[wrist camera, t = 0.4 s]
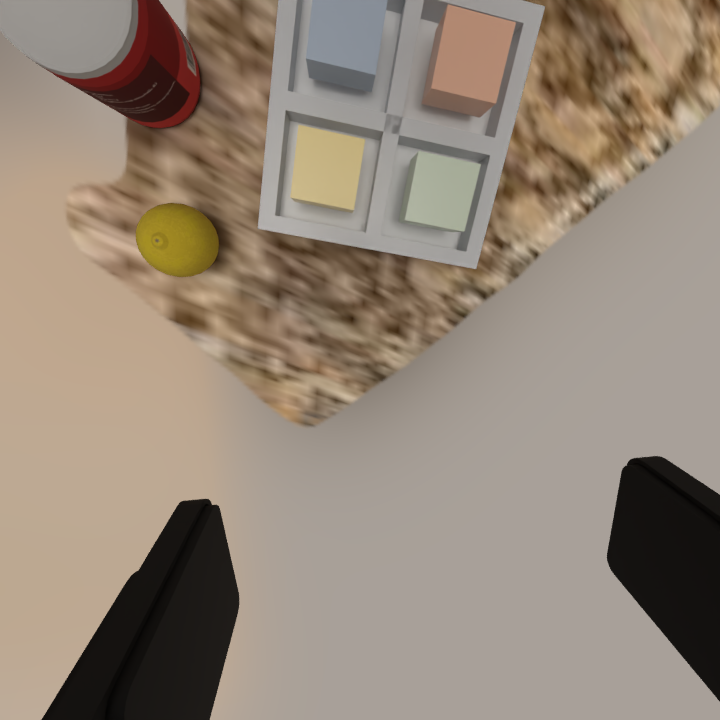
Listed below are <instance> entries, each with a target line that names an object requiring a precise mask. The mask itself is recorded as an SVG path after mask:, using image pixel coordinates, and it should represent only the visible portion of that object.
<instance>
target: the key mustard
mask: <svg viewBox="0 0 720 720" xmlns="http://www.w3.org/2000/svg"><path fill="white" fill-rule="evenodd" d="M364 144H365V139H362V138H357V137H353V136H348V135H343V134H339V133H334V132H330V131H325V130H320V129H316V128H311V127H307V126H302V125H298V133H297V142H296V151H295V159H294V168H293V177H292V186H291V195H290V198H291V199H292V200H293V201H294V202H298V203H304V204H309V205H314V206H319V207H324V208H329V209H334V210H339V211H345V212H350V213H353V211H354V207H355V200H356V194H357V188H358V182H359V175H360V169H361V163H362V157H363V151H364Z"/></svg>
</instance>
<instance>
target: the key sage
mask: <svg viewBox="0 0 720 720" xmlns="http://www.w3.org/2000/svg"><path fill="white" fill-rule="evenodd" d="M480 166H481V164H477V163H472V162H467V161H463V160H458V159H454V158H449V157H444V156H440V155H435V154H431V153H426V152H421V151H418V152H417V153H416V154H415V155H414V157H413V158H412V159H411V160H410V165H409V170H408V175H407V180H406V185H405V191H404V196H403V201H402V206H401V211H400V216H399V221H398V222H401V223H406V224H411V225H416V226H422V227H427V228H432V229H437V230H442V231H447V232H452V233H453V232H464V231H465V227H466V223H467V219H468V215H469V211H470V207H471V203H472V199H473V195H474V190H475V186H476V182H477V178H478V174H479V170H480Z"/></svg>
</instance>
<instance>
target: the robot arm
mask: <svg viewBox="0 0 720 720" xmlns="http://www.w3.org/2000/svg"><path fill="white" fill-rule="evenodd" d="M607 561H608V564H609V567H610V569H611V571H612V572H613V573H614V575H615V576H616V577H617V578H618V580H619V581H620V582H621V583H622V584H623V586H624V587H625V588H626V589H627V590H628V592H629V593H630V594H631V595H632V596H633V598H634V599H635V600H636V601H637V602H638V604H639V605H640V606H641V607H642V608H643V610H644V611H645V612H646V613H647V614H648V616H649V617H650V618H651V619H652V620H653V622H654V623H655V624H656V625H657V626H658V628H659V629H660V630H661V631H662V632H663V634H664V635H665V636H666V637H667V638H668V640H669V641H670V642H671V643H672V645H673V646H674V647H675V648H676V649H677V650H678V652H679V653H680V654H681V655H682V657H683V658H684V659H685V660H686V661H687V663H688V664H689V665H690V666H691V667H692V669H693V670H694V671H695V672H696V673H697V675H698V676H699V677H700V678H701V679H702V681H703V682H704V683H705V684H706V685H707V687H708V688H709V689H710V690H711V691H712V693H713V694H714V695H715V696H716V697H717V699H718V700H719V701H720V495H719V494H718V493H716V492H715V491H713V490H712V489H710V488H709V487H707V486H706V485H704V484H703V483H701V482H700V481H698V480H697V479H695V478H693V477H692V476H690V475H689V474H688V473H686V472H685V471H683V470H682V469H680V468H679V467H677V466H676V465H674V464H673V463H671V462H670V461H668V460H666V459H665V458H663V457H658V456H653V457H642V458H634V459H631V460H630V461H629V462H628V463H627V466H625V467H624V468H623V470H622V473H621V478H620V484H619V490H618V495H617V501H616V507H615V512H614V518H613V524H612V529H611V535H610V541H609V546H608V553H607ZM238 609H239V592H238V588H237V583H236V579H235V574H234V570H233V565H232V561H231V557H230V552H229V548H228V543H227V539H226V534H225V530H224V525H223V521H222V517H221V512H220V508H219V506H218V505H212V504H211V501H210V500H209V499H199V500H189V501H182V502H180V503H179V505H178V506H177V507H176V509H175V511H174V512H173V514H172V516H171V517H170V519H169V521H168V522H167V524H166V526H165V527H164V529H163V531H162V532H161V534H160V536H159V537H158V539H157V541H156V542H155V544H154V546H153V547H152V549H151V551H150V552H149V554H148V556H147V557H146V559H145V561H144V562H143V564H142V566H141V568H140V569H139V571H137V572H135V573H134V574H133V575H131V577H130V578H129V580H128V581H127V582H126V584H125V585H124V587H123V588H122V590H121V592H120V593H119V595H118V597H117V598H116V600H115V602H114V603H113V605H112V606H111V608H110V610H109V611H108V613H107V614H106V616H105V618H104V619H103V621H102V623H101V624H100V626H99V627H98V629H97V631H96V632H95V634H94V635H93V637H92V639H91V640H90V642H89V644H88V645H87V647H86V648H85V650H84V652H83V653H82V655H81V657H80V658H79V660H78V661H77V663H76V665H75V666H74V668H73V670H72V671H71V673H70V674H69V676H68V678H67V680H66V681H65V683H64V684H63V686H62V688H61V689H60V691H59V692H58V694H57V696H56V697H55V699H54V701H53V702H52V704H51V705H50V707H49V709H48V710H47V712H46V714H45V715H44V717H43V718H42V720H210V716H211V712H212V708H213V704H214V701H215V697H216V693H217V689H218V686H219V682H220V678H221V674H222V671H223V667H224V663H225V659H226V656H227V652H228V648H229V644H230V641H231V637H232V633H233V629H234V626H235V622H236V617H237V614H238Z"/></svg>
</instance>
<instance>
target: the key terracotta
mask: <svg viewBox="0 0 720 720" xmlns="http://www.w3.org/2000/svg"><path fill="white" fill-rule="evenodd" d="M515 24H516V22H513V21H509V20H505V19H501V18H497V17H494V16H490V15H486V14H482V13H479V12H475V11H471V10H467V9H463V8H460V7H456V6H452V5H447V7H446V9H445V12H444V14H443V16H442V18H441V20H440V22H439V24H438V26H437V29H436V32H435V37H434V42H433V47H432V52H431V57H430V62H429V68H428V73H427V78H426V83H425V88H424V93H423V98H422V103H421V104H424V105H428V106H432V107H437V108H441V109H445V110H450V111H454V112H458V113H463V114H467V115H471V116H475V117H481V116H482V115H483V114H484V113H486V112H487V111H488V110H489V109H490V108H491V107H493V106H494V105H495V104H496V101H497V97H498V93H499V89H500V85H501V81H502V77H503V73H504V69H505V65H506V61H507V57H508V52H509V48H510V44H511V40H512V36H513V32H514V28H515Z"/></svg>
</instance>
